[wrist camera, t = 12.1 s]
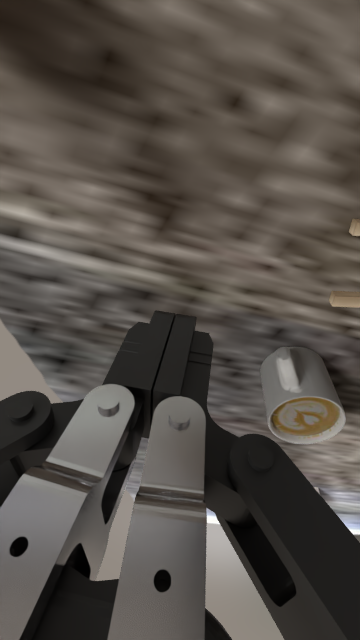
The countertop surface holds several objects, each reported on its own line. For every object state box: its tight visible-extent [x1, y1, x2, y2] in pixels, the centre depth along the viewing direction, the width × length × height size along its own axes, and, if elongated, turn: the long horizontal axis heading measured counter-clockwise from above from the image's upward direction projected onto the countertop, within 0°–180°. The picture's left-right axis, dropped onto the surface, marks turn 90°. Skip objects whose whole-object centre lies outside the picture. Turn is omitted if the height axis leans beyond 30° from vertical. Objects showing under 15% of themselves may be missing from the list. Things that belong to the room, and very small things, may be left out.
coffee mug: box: [260, 347, 346, 444], centre depth 44 cm, size 13×10×10 cm
